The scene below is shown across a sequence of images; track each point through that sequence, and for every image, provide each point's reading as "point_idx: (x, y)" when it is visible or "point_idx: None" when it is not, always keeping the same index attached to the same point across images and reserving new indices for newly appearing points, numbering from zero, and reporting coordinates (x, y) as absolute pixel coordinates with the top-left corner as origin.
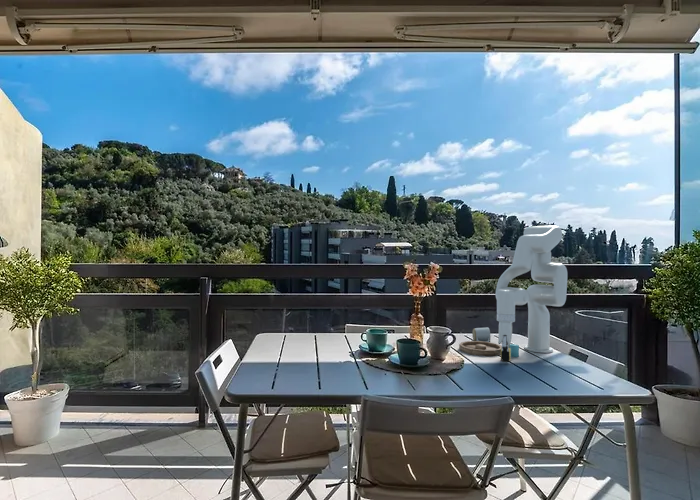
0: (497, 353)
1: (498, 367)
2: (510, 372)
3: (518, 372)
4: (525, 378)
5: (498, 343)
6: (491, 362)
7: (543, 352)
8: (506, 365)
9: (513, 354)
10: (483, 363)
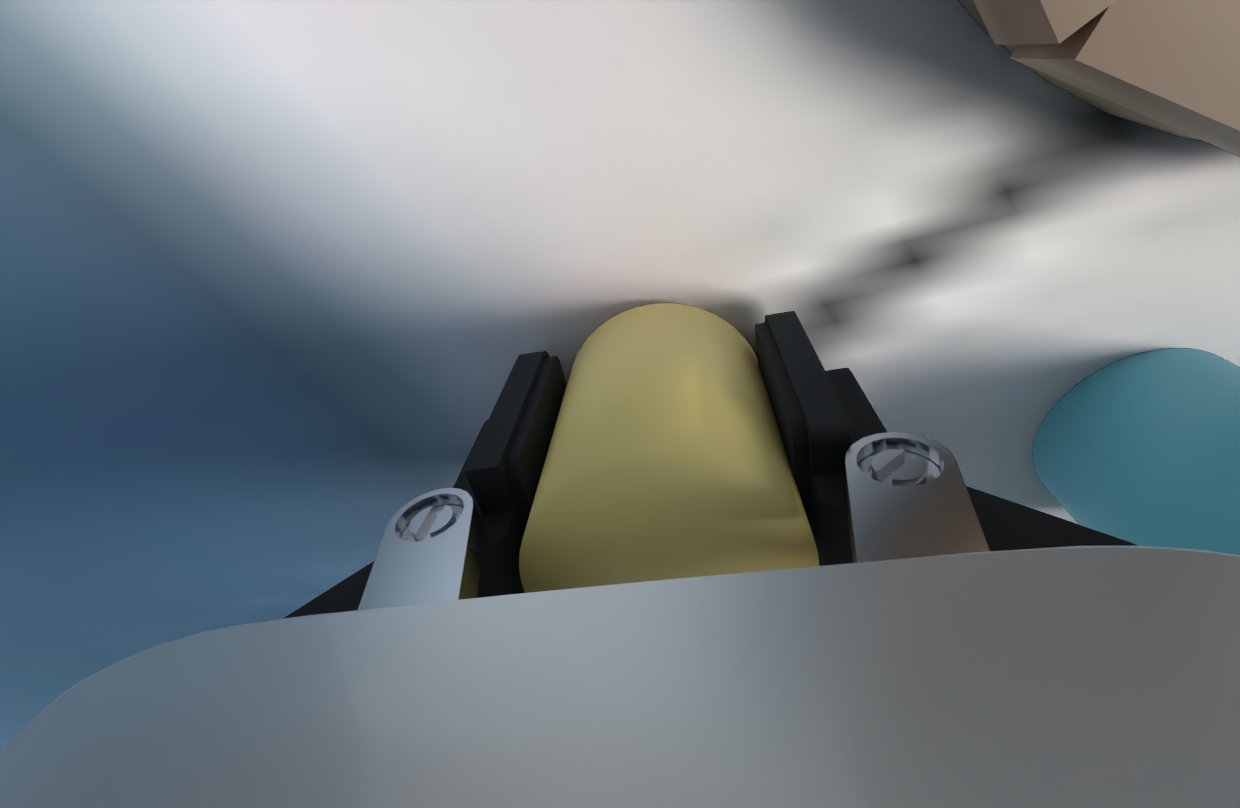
0: (1118, 100)
1: (90, 406)
2: (49, 579)
3: (153, 639)
4: (26, 708)
5: (112, 665)
6: (273, 195)
7: None
8: (328, 473)
9: (1067, 474)
10: (14, 56)
